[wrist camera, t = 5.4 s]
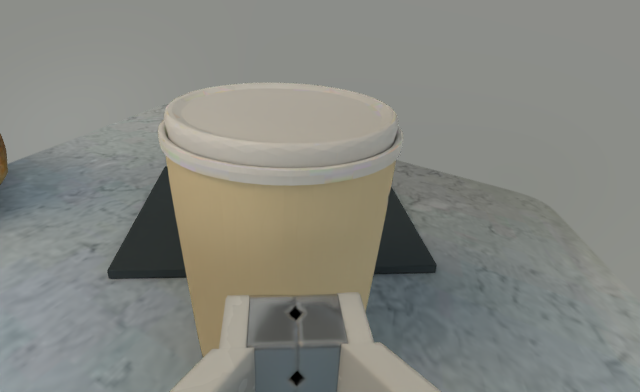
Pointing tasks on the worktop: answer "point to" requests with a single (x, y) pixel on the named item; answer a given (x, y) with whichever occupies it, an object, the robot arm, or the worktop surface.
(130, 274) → the slate mat
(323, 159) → the coffee cup
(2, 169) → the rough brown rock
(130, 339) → the worktop surface
